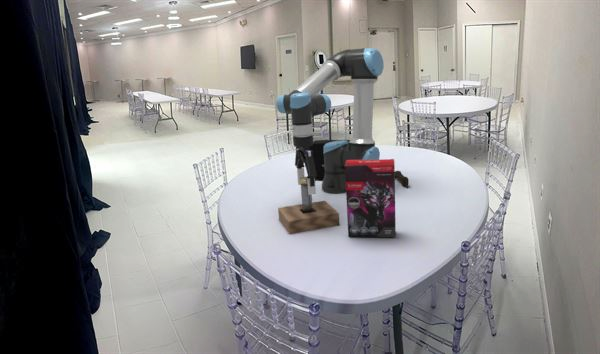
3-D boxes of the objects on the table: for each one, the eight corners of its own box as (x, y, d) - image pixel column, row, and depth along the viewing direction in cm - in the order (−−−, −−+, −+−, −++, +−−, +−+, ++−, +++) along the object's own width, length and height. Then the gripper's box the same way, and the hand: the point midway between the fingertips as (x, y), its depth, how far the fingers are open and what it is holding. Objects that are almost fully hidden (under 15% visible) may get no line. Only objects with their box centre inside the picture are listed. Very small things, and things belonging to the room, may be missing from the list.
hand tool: (393, 178, 225) (393, 169, 224) (401, 177, 225) (401, 168, 224) (401, 189, 207) (401, 180, 206) (410, 188, 207) (410, 179, 206)
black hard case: (307, 180, 230) (304, 143, 225) (313, 174, 241) (311, 138, 236) (364, 182, 221) (363, 143, 215) (368, 175, 232) (368, 138, 226)
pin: (312, 219, 177) (309, 176, 172) (316, 223, 172) (314, 179, 168) (300, 221, 176) (297, 177, 171) (303, 225, 171) (301, 181, 166)
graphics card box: (347, 237, 158) (344, 164, 150) (348, 230, 164) (346, 159, 157) (395, 238, 154) (395, 163, 147) (395, 230, 161) (395, 158, 153)
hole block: (325, 211, 184) (324, 200, 183) (339, 225, 169) (338, 212, 168) (278, 219, 179) (278, 207, 178) (289, 233, 164) (288, 221, 163)
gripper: (284, 131, 175) (288, 181, 181) (303, 142, 152) (307, 200, 158) (302, 128, 177) (306, 179, 183) (323, 139, 154) (326, 196, 160)
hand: (306, 189), depth 171 cm, fingers open, 13 cm apart
